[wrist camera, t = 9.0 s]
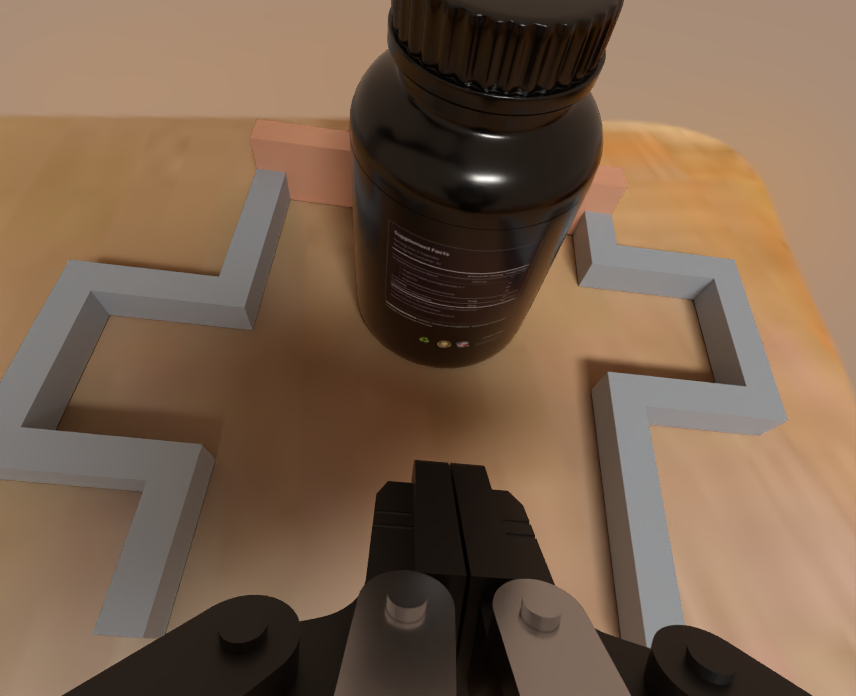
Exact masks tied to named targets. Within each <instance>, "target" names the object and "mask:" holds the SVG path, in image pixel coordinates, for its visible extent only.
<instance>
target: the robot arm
mask: <svg viewBox="0 0 856 696" xmlns="http://www.w3.org/2000/svg"><path fill="white" fill-rule="evenodd" d="M62 696H812V695H810V694H809V693H807V692H806V691H804V690H803V689H801V688H799V687H798V686H796V685H795V684H793V683H792V682H790V681H788V680H787V679H785V678H784V677H782V676H781V675H779V674H777V673H776V672H774V671H773V670H771V669H769V668H768V667H766V666H765V665H763V664H762V663H760V662H758V661H757V660H755V659H754V658H752V657H751V656H749V655H747V654H746V653H744V652H743V651H741V650H740V649H738V648H736V647H735V646H733V645H732V644H730V643H729V642H727V641H725V640H723V639H722V638H720V637H718V636H716V635H714V634H712V633H710V632H707V631H705V630H702V629H699V628H695V627H692V626H686V625H669V626H666V627H663V628H661V629H660V630H658V631H657V632H656V634H655V635H654V637H653V640H652V644H651V648H648V647H645V646H642V645H639V644H636V643H632V642H629V641H626V640H623V639H620V638H617V637H614V636H611V635H608V634H606V633H603V632H601V631H599V630H597V629H595V628H594V626H593V625H592V623H591V621H590V619H589V617H588V615H587V614H586V612H585V610H584V609H583V607H582V606H581V605H580V604H579V603H578V601H577V600H576V599H574V598H573V597H572V596H571V595H570V594H568V593H567V592H565V591H564V590H562V589H560V588H559V587H557V586H555V584H554V582H553V579H552V577H551V574H550V572H549V569H548V567H547V564H546V562H545V559H544V557H543V554H542V552H541V549H540V547H539V544H538V542H537V539H535V534H534V532H533V529H532V527H531V525H529V519H528V517H527V514H526V512H525V509H524V507H523V505H522V504H521V503H520V502H519V501H518V500H517V499H516V498H515V497H514V496H513V495H512V494H510V493H509V492H508V491H503V490H492V488H491V485H490V482H489V479H488V475H487V472H486V469H485V467H484V466H481V465H469V464H458V463H450V465H449V464H448V463H445V462H433V461H421V460H414V465H413V473H412V482H411V483H404V482H392V481H388V482H387V483H386V484H385V485H384V486H383V487H382V488H381V489H380V491H379V492H378V493H377V494H376V502H375V510H374V518H373V526H372V534H371V542H370V551H369V559H368V567H367V575H366V581H365V585H364V586H363V588H362V589H361V591H360V593H359V596H358V597H357V598H356V599H355V600H354V601H353V602H352V603H351V604H350V605H348V606H347V607H345V608H344V609H342V610H340V611H338V612H336V613H333V614H331V615H328V616H324V617H320V618H315V619H310V620H305V621H300V622H299V619H298V617H297V615H296V613H295V612H294V610H293V609H292V608H291V607H290V606H289V605H287V604H286V603H284V602H283V601H281V600H278V599H276V598H273V597H269V596H263V595H246V596H239V597H235V598H232V599H228V600H226V601H223V602H221V603H219V604H217V605H215V606H213V607H211V608H209V609H208V610H206V611H204V612H203V613H201V614H199V615H198V616H196V617H194V618H192V619H191V620H189V621H187V622H186V623H184V624H182V625H181V626H179V627H177V628H176V629H174V630H172V631H170V632H169V633H167V634H165V635H164V636H162V637H160V638H159V639H157V640H155V641H154V642H152V643H150V644H148V645H147V646H145V647H143V648H142V649H140V650H138V651H137V652H135V653H133V654H132V655H130V656H128V657H126V658H125V659H123V660H121V661H120V662H118V663H116V664H115V665H113V666H111V667H110V668H108V669H106V670H104V671H103V672H101V673H99V674H98V675H96V676H94V677H93V678H91V679H89V680H87V681H86V682H84V683H82V684H81V685H79V686H77V687H76V688H74V689H72V690H71V691H69V692H67V693H65V694H64V695H62Z"/></svg>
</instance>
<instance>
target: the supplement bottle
mask: <svg viewBox="0 0 856 696" xmlns="http://www.w3.org/2000/svg"><path fill="white" fill-rule="evenodd" d="M623 2H624V0H391V8H390V11H389V15H388V37H387V41H388V48H389V49H388V50H386V51H385V52H384V53H383V54H381V55H380V56H379V57H378V58H377V59H376V60H375V61H374V62H373V63H372V65H371V66H370V67H369V68H368V70H367V71H366V72H365V74H364V76H363V77H362V79H361V81H360V83H359V84H358V86H357V89H356V91H355V94H354V96H353V99H352V104H351V109H350V133H349V134H350V159H351V182H352V204H353V226H354V249H355V271H356V286H357V298H358V303H359V308H360V311H361V314H362V317H363V319H364V321H365V323H366V324H367V326H368V328H369V329H370V331H371V332H372V333H373V335H374V336H375V337H376V338H377V339H378V340H379V341H380V342H381V343H382V344H383V345H384V346H385V347H386V348H388V349H389V350H391V351H392V352H393V353H395V354H397V355H398V356H400V357H402V358H404V359H406V360H409V361H411V362H414V363H417V364H420V365H424V366H429V367H435V368H460V367H465V366H470V365H474V364H477V363H479V362H482V361H484V360H486V359H488V358H490V357H492V356H494V355H495V354H497V353H498V352H500V351H501V350H502V349H503V348H504V347H505V346H506V345H507V344H508V343H509V342H510V341H511V340H512V339H513V337H514V336H515V335H516V333H517V331H518V330H519V328H520V326H521V324H522V323H523V321H524V319H525V317H526V315H527V313H528V311H529V309H530V307H531V305H532V303H533V301H534V299H535V297H536V295H537V293H538V291H539V289H540V287H541V285H542V283H543V281H544V279H545V277H546V275H547V273H548V271H549V269H550V267H551V265H552V263H553V261H554V259H555V257H556V255H557V253H558V250H559V248H560V246H561V244H562V242H563V240H564V238H565V236H566V234H567V232H568V230H569V228H570V226H571V224H572V222H573V220H574V218H575V216H576V214H577V212H578V210H579V208H580V206H581V204H582V202H583V200H584V198H585V196H586V194H587V192H588V190H589V188H590V186H591V184H592V181H593V179H594V177H595V174H596V172H597V169H598V167H599V164H600V160H601V156H602V150H603V129H602V122H601V117H600V113H599V110H598V107H597V104H596V102H595V100H594V98H593V96H592V94H591V92H590V91H591V89H592V88H593V87H594V85H595V83H596V80H597V78H598V76H599V74H600V72H601V70H602V67H603V65H604V62H605V57H606V52H605V51H606V50H605V49H606V46H607V44H608V42H609V39H610V37H611V34H612V32H613V29H614V27H615V24H616V22H617V19H618V17H619V14H620V12H621V9H622V6H623Z"/></svg>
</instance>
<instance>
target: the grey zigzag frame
mask: <svg viewBox="0 0 856 696" xmlns="http://www.w3.org/2000/svg"><path fill="white" fill-rule="evenodd" d="M349 133H350V131H343V130H335V129H328V128H320V127H313V126H306V125H298V124H291V123H283V122H276V121H269V120H261V119H257V121H256V123H255V126H254V128H253V131H252V134H251V136H250V140H251V145H252V149H253V153H254V158H255V162H256V167H257V170H256V173H255V176H254V179H253V181H252V184H251V187H250V190H249V193H248V196H247V198H246V201H245V204H244V207H243V210H242V213H241V215H240V218H239V221H238V224H237V227H236V230H235V232H234V235H233V238H232V241H231V244H230V247H229V249H228V252H227V255H226V258H225V261H224V264H223V266H222V269H221V272H220V275H219V277H217V276H209V275H200V274H191V273H182V272H174V271H165V270H156V269H147V268H139V267H130V266H121V265H113V264H104V263H95V262H86V261H78V260H69V261H68V263H67V265H66V267H65V268H64V270H63V272H62V274H61V275H60V277H59V279H58V281H57V282H56V284H55V286H54V288H53V290H52V291H51V293H50V295H49V297H48V298H47V300H46V302H45V304H44V306H43V307H42V309H41V311H40V313H39V314H38V316H37V318H36V320H35V322H34V323H33V325H32V327H31V329H30V330H29V332H28V334H27V336H26V337H25V339H24V341H23V343H22V345H21V346H20V348H19V350H18V352H17V353H16V355H15V357H14V359H13V361H12V362H11V364H10V366H9V368H8V369H7V371H6V373H5V375H4V377H3V378H2V380H1V382H0V479H2V480H14V481H25V482H37V483H48V484H60V485H71V486H83V487H94V488H106V489H117V490H129V491H140V492H143V493H142V495H141V498H140V501H139V504H138V507H137V510H136V512H135V515H134V518H133V521H132V524H131V527H130V529H129V532H128V535H127V538H126V541H125V544H124V546H123V549H122V552H121V555H120V558H119V561H118V563H117V566H116V569H115V572H114V575H113V578H112V580H111V583H110V586H109V589H108V592H107V595H106V597H105V600H104V603H103V606H102V609H101V611H100V614H99V617H98V620H97V623H96V626H95V628H94V631H93V634H92V635H107V636H121V637H136V638H160V637H162V636H164V635H165V632H166V629H167V626H168V622H169V619H170V615H171V612H172V608H173V605H174V601H175V598H176V594H177V591H178V587H179V584H180V580H181V577H182V574H183V570H184V567H185V563H186V560H187V556H188V553H189V549H190V546H191V542H192V539H193V535H194V532H195V528H196V525H197V522H198V518H199V515H200V511H201V508H202V504H203V501H204V497H205V494H206V490H207V487H208V483H209V480H210V476H211V473H212V470H213V466H214V463H215V459H214V458H213V456H212V455H211V454H210V453H209V452H208V450H207V449H206V448H205V447H204V446H203V444H195V443H185V442H174V441H163V440H153V439H142V438H131V437H121V436H110V435H99V434H88V433H78V432H67V431H56V428H57V426H58V424H59V421H60V419H61V417H62V415H63V413H64V411H65V409H66V407H67V405H68V402H69V400H70V398H71V396H72V394H73V392H74V390H75V388H76V386H77V383H78V381H79V379H80V377H81V375H82V373H83V371H84V369H85V367H86V364H87V362H88V360H89V358H90V356H91V354H92V352H93V350H94V348H95V345H96V343H97V341H98V339H99V337H100V335H101V333H102V331H103V328H104V326H105V324H106V322H107V320H108V318H109V316H110V315H115V316H124V317H134V318H143V319H152V320H161V321H171V322H180V323H189V324H198V325H207V326H217V327H226V328H235V329H244V330H253V327H254V324H255V320H256V317H257V314H258V310H259V307H260V303H261V300H262V296H263V293H264V289H265V286H266V282H267V279H268V275H269V272H270V268H271V265H272V262H273V258H274V255H275V251H276V248H277V244H278V241H279V237H280V234H281V230H282V227H283V223H284V220H285V216H286V213H287V210H288V206H289V203H290V199H291V200H299V201H307V202H315V203H323V204H331V205H339V206H347V207H353V204H352V182H351V159H350V134H349ZM626 188H627V186H626V181H625V176H624V172H623V168H617V167H610V166H602V165H599V167H598V169H597V172H596V174H595V177H594V179H593V181H592V184H591V186H590V188H589V190H588V192H587V194H586V196H585V198H584V200H583V202H582V204H581V206H580V208H579V210H578V212H577V214H576V216H575V218H574V220H573V222H572V224H571V226H570V228H569V230H568V232H567V234H570V235H573V242H574V250H575V259H576V267H577V275H578V284H579V286H583V287H592V288H600V289H608V290H617V291H625V292H634V293H642V294H651V295H659V296H667V297H676V298H684V299H693V300H694V303H695V307H696V310H697V314H698V318H699V322H700V326H701V329H702V333H703V337H704V341H705V344H706V348H707V352H708V356H709V360H710V363H711V367H712V371H713V375H714V378H715V382H716V383H709V382H700V381H690V380H681V379H672V378H663V377H653V376H644V375H635V374H626V373H616V372H607V373H606V374H605V375H604V376H603V377H602V378H601V380H600V381H599V382H598V383H597V384H596V385H595V386H594V387H593V388H592V389H591V392H592V400H593V409H594V417H595V425H596V434H597V442H598V450H599V459H600V467H601V475H602V484H603V492H604V500H605V509H606V517H607V525H608V534H609V542H610V550H611V559H612V567H613V575H614V584H615V592H616V600H617V609H618V617H619V625H620V634H621V639H623V640H626V641H629V642H632V643H636V644H639V645H642V646H645V647H648V648H651V644H652V640H653V637H654V635H655V634H656V632H657V631H658V630H660V629H661V628H663V627H666V626H669V625H685V622H684V617H683V611H682V605H681V600H680V594H679V589H678V583H677V577H676V572H675V566H674V561H673V555H672V550H671V544H670V538H669V533H668V527H667V522H666V516H665V511H664V505H663V499H662V494H661V488H660V483H659V477H658V471H657V466H656V460H655V455H654V449H653V444H652V438H651V432H650V427H649V424H650V425H659V426H669V427H679V428H689V429H699V430H709V431H718V432H728V433H738V434H748V435H758V436H759V435H761V434H763V433H765V432H767V431H769V430H771V429H773V428H775V427H777V426H779V425H781V424H783V423H785V422H787V421H788V418H787V415H786V413H785V410H784V407H783V404H782V401H781V398H780V395H779V392H778V389H777V386H776V383H775V380H774V377H773V374H772V371H771V368H770V365H769V362H768V359H767V356H766V353H765V350H764V347H763V344H762V341H761V338H760V335H759V332H758V329H757V326H756V323H755V320H754V317H753V314H752V311H751V308H750V305H749V302H748V299H747V296H746V293H745V290H744V287H743V284H742V281H741V278H740V275H739V272H738V269H737V266H736V263H735V260H733V259H725V258H717V257H709V256H701V255H693V254H685V253H677V252H669V251H661V250H653V249H645V248H637V247H629V246H621V245H617V243H616V237H615V232H614V226H613V220H612V215H611V214H612V212H613V211H614V209H615V207H616V206H617V204H618V202H619V200H620V199H621V197H622V195H623V193H624V192H625V190H626Z"/></svg>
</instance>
